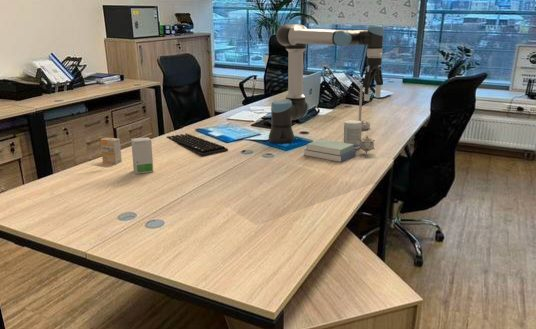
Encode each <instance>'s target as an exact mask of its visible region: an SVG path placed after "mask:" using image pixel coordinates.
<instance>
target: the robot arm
mask: <svg viewBox="0 0 536 329" xmlns="http://www.w3.org/2000/svg"><path fill="white" fill-rule="evenodd" d="M275 34H276V40H277V42H278V43H279V44H280V45H281V46H283V47H285V50H286V51H287V52H288V58H287V59H288V61H287V62H288V63H287V64H288V66H287V67H288V69H287V72H288V77H287V78H288V79H287V80H288V81H287V82H288V83H287V84H288V85H287V87H288V89H287V91H288V92H287V94H286V95H285V98H281V99H279V98H278V99H275V100H273V101H272V102H271V107H270V112H271V113H270V114H271V116H270V117H271V118H270V119H271V128H270V131H269V135H268V142H269V143H275V144H288V143H292V142H294V141H295V134H294V131H293V128H292V126H293V125H292V121H294V120H299V119H301V118H304V117H305V116H306V115H307V114H308V112H309V107H310V106H309V103H308V101H307V100H306V96H305V94H304V93H303V92H304V91H303V90H304V86H303V85H304V52H305V51H306V50H307V45H323V46H338V47H349V46H366V57H367V58H366V66H368V67H366V68H365V74H364V78H363V81H362V84H363V85H362V86H363V91H364V92H363V101H366V102H367V101H368V102H369V101H370V98H371V97H370V96H371V87H370V86H371V83H372V81H373V78H374V81H375V83H376V84H375V86H374V87H375V92H374V98H378V99H379V98H381V90H382V86H383V84H384V79H383V73H382V72H383V71H382V63H383V62H382V61H383V58H382V56H383V52H384V51H383V44H384V43H383V42H384V26H382V25H368V27H367V29H351V30H349V29H347V30H346V29H319V28H317V29H314V28H313V29H311V28H307V27H306V26H305V25H303V24H297V23H296V24H283V25H280V26H279V28H278V29H277V31H276V33H275Z"/></svg>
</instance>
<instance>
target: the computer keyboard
mask: <svg viewBox="0 0 536 329" xmlns="http://www.w3.org/2000/svg"><path fill="white" fill-rule="evenodd" d="M166 138H167V139H169V141H172V142H175V143H176V144H177V145H179V146H180V147H182V148H185V149H186V150H189V151H190V152H192V153H195V154H197V155H198V156H200V157H203V158H204V157H207V156H211V155H216V154H221V153H226V152H228V151H229V148H227V147H225V145H224V146H223V145H221V144H218V143H216V142H212V141H209V140H207V139H203V138H201V137H198V136H196V135H193V134H189V133H186V132H185V133H184V134H182V133H181V134H175V135H171V136H170V135H168V136H166Z"/></svg>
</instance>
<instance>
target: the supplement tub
mask: <svg viewBox="0 0 536 329" xmlns="http://www.w3.org/2000/svg"><path fill="white" fill-rule="evenodd" d="M361 121H362V120H361ZM361 121H359V120H354V119H353V120H351V119H350V120H345V121H344V122H343V123H344V125H343V143H349V144H354V150H360V149H359V148H360V141H359V140H362V131H363V130H362V122H361Z"/></svg>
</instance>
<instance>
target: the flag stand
mask: <svg viewBox="0 0 536 329" xmlns="http://www.w3.org/2000/svg"><path fill="white" fill-rule="evenodd" d="M362 85H363V83H361V84H359V86H358V88H359V106H358V121H361V122H362V131H364V130H368V129H369V128H371V122H369V121H364V120H362V110H363V109H362V108H363V105H362V104H363V93H364V92H363V91H364V88H363V86H362Z"/></svg>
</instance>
